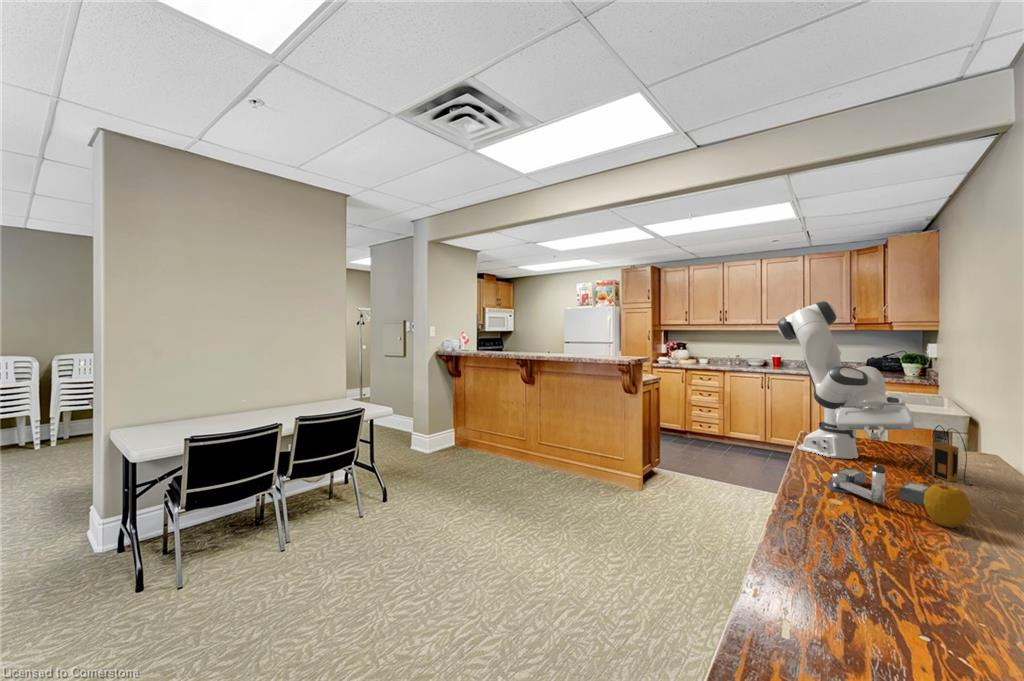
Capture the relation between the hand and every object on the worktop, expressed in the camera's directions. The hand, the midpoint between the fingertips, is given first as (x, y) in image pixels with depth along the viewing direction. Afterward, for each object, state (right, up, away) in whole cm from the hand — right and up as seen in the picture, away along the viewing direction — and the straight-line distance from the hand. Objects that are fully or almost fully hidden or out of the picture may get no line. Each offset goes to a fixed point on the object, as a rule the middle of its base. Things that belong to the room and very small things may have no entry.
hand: (875, 438), depth 141 cm
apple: (+6, -21, -17) cm, 28 cm away
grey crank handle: (-3, -19, +3) cm, 20 cm away
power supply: (+15, -20, +2) cm, 26 cm away
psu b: (+5, -20, +16) cm, 26 cm away
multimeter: (+48, -20, +21) cm, 56 cm away
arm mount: (-4, -20, +10) cm, 23 cm away
